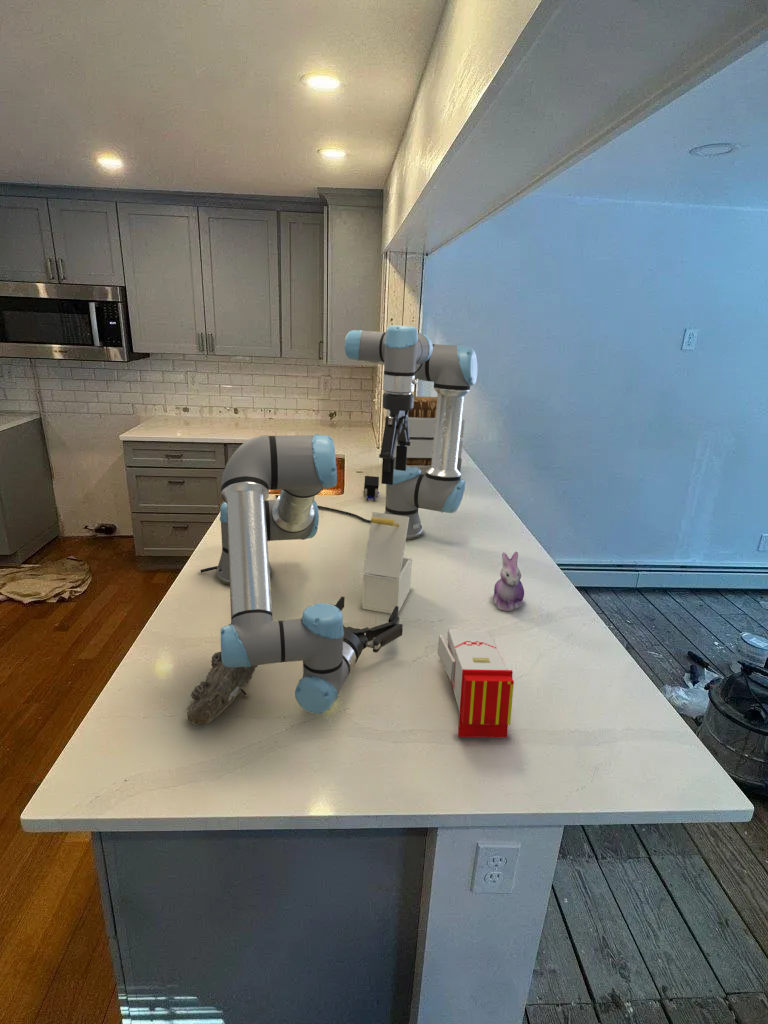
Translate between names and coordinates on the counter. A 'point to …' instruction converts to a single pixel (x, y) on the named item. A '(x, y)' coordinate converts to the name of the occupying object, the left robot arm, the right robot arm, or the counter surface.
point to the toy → (478, 682)
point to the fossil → (217, 690)
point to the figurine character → (371, 487)
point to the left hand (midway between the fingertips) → (369, 606)
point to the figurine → (509, 585)
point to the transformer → (423, 433)
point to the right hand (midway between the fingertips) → (394, 476)
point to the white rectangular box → (386, 545)
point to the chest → (387, 589)
